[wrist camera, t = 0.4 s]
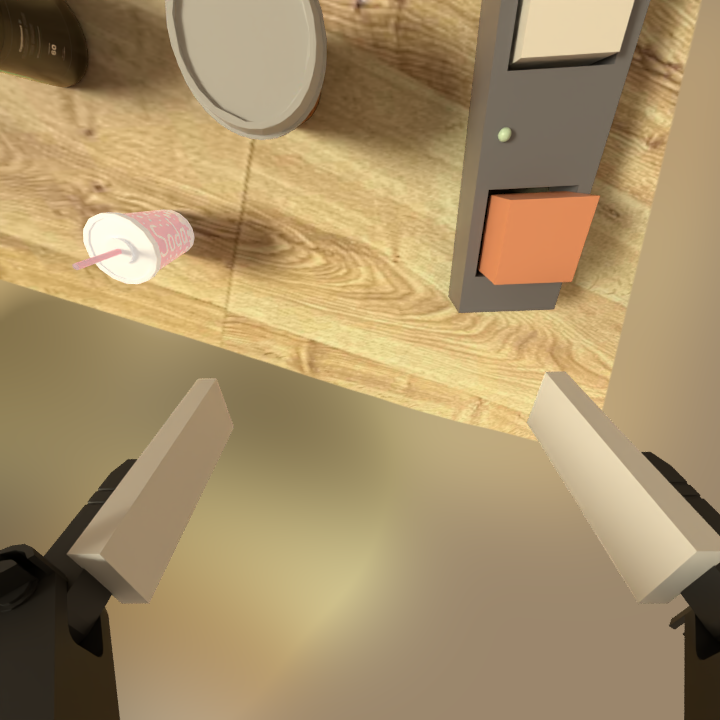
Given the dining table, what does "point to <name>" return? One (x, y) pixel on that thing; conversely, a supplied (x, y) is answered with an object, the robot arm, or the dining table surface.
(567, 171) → the push button control box
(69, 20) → the supplement bottle
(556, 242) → the button orange
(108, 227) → the beverage cup
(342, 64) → the dining table surface
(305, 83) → the disposable coffee cup
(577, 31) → the button ivory
